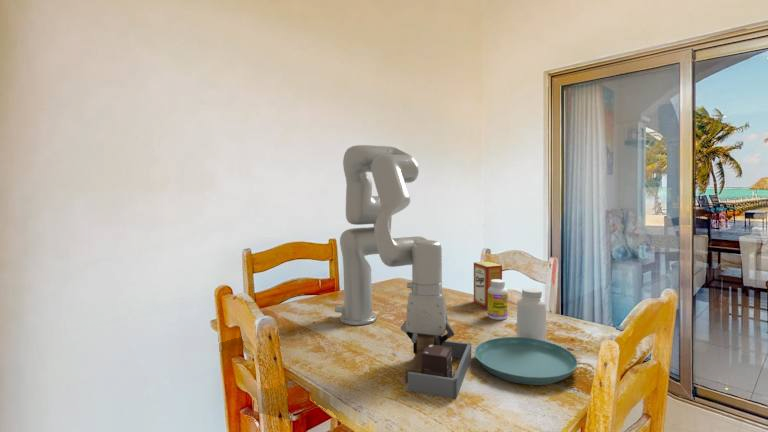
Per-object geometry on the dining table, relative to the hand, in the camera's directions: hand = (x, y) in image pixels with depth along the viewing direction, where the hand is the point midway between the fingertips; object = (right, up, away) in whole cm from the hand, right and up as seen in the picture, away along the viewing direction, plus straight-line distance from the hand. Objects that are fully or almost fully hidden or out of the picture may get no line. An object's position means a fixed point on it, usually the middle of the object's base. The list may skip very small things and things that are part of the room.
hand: (427, 357), depth 104 cm
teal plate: (+24, -1, -4) cm, 24 cm away
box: (+1, -2, -10) cm, 11 cm away
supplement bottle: (+28, +1, +34) cm, 44 cm away
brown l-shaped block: (-2, -1, -5) cm, 5 cm away
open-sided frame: (+2, -1, -7) cm, 7 cm away
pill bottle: (+32, 0, +13) cm, 34 cm away
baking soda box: (+29, +3, +50) cm, 58 cm away
